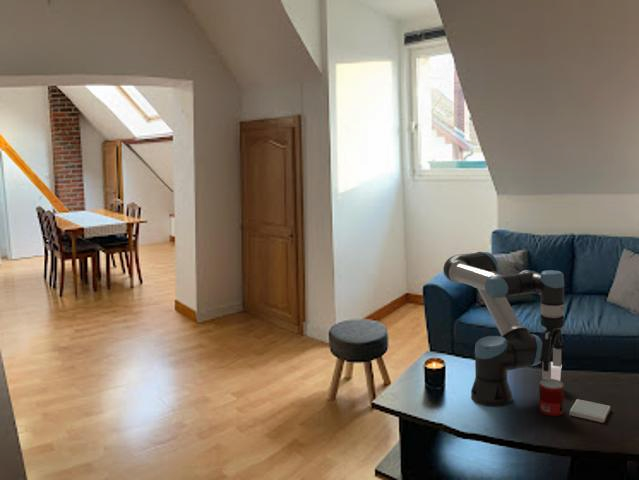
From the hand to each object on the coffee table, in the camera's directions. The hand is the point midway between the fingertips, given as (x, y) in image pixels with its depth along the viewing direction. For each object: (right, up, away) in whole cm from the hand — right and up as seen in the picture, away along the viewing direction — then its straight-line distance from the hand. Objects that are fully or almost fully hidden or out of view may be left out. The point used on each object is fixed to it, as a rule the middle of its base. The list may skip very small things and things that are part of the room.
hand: (551, 372), depth 194 cm
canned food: (+1, -15, +3) cm, 15 cm away
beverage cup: (+10, -11, +23) cm, 27 cm away
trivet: (+14, -14, 0) cm, 20 cm away
